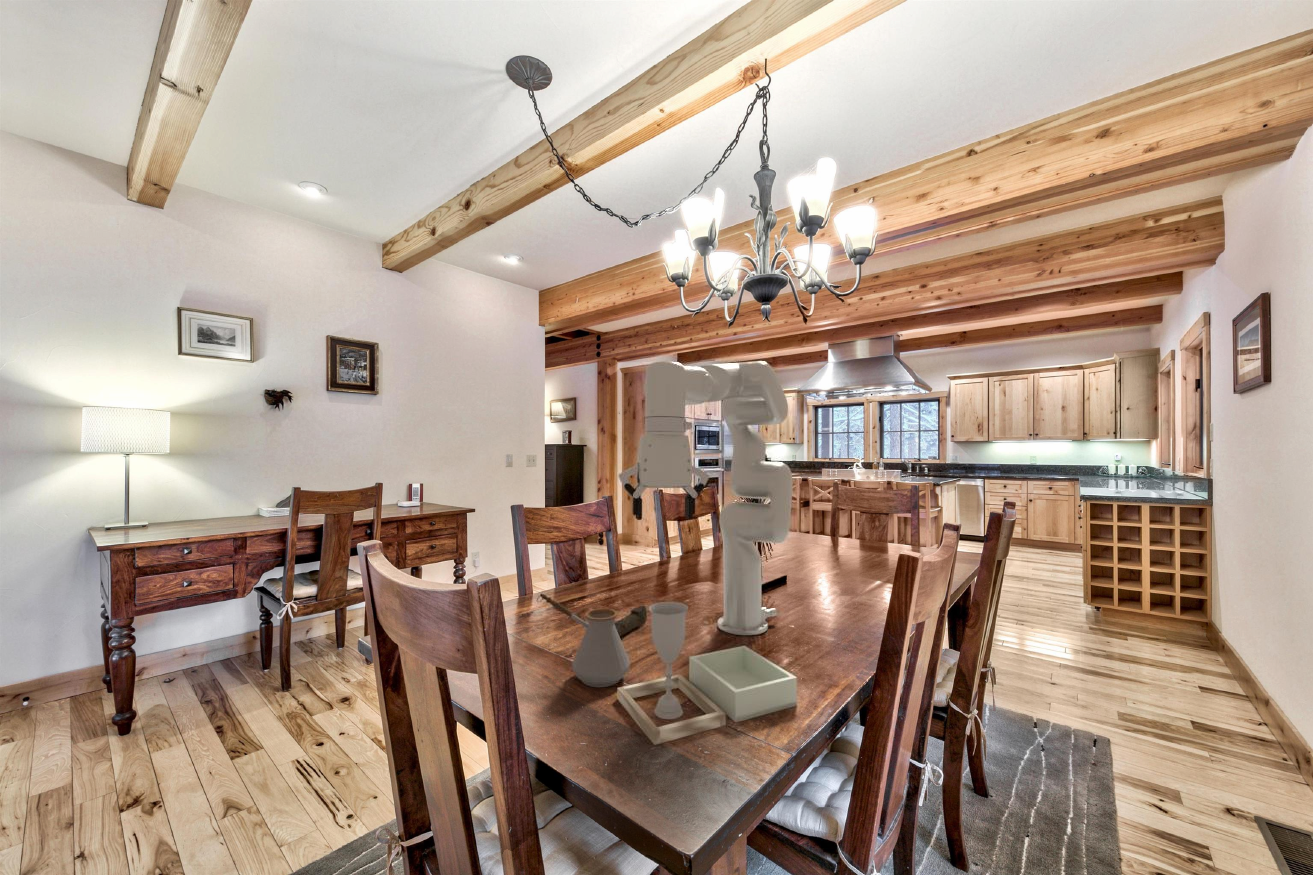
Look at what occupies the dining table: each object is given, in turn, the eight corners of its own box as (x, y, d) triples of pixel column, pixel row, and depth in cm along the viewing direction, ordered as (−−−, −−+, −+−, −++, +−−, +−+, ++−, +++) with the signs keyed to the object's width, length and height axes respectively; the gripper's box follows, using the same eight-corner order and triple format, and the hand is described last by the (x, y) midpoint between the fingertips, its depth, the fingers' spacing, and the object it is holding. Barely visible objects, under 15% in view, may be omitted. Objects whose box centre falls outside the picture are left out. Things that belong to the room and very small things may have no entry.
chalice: (675, 726, 85) (674, 617, 85) (640, 715, 88) (640, 610, 89) (695, 707, 91) (695, 605, 91) (662, 697, 95) (662, 599, 95)
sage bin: (744, 669, 106) (744, 645, 106) (796, 705, 92) (796, 677, 92) (689, 682, 101) (689, 656, 101) (735, 722, 86) (735, 692, 86)
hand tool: (611, 647, 119) (611, 627, 119) (597, 643, 121) (598, 623, 121) (655, 623, 135) (655, 605, 135) (642, 620, 137) (642, 602, 137)
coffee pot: (640, 672, 105) (640, 598, 105) (611, 697, 95) (611, 615, 95) (555, 653, 115) (555, 586, 115) (520, 674, 104) (520, 600, 104)
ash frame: (680, 684, 100) (680, 674, 100) (725, 725, 85) (725, 713, 85) (617, 698, 94) (617, 687, 94) (654, 744, 80) (654, 731, 80)
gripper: (703, 429, 103) (702, 516, 102) (616, 427, 99) (615, 517, 99) (714, 428, 96) (714, 520, 95) (622, 425, 92) (620, 522, 91)
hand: (663, 518), depth 97 cm, fingers open, 9 cm apart
